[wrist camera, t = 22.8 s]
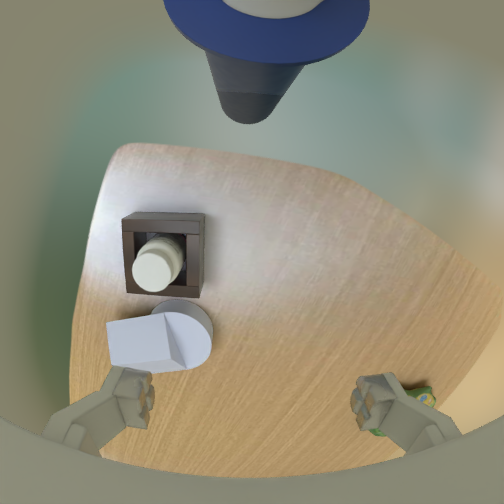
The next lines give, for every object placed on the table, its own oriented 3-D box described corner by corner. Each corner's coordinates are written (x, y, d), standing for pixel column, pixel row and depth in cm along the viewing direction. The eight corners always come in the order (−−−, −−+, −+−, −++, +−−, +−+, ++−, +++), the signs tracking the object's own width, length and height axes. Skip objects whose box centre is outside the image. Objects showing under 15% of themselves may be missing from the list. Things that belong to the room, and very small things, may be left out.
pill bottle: (176, 273, 35) (159, 305, 27) (145, 251, 34) (120, 278, 26) (197, 243, 34) (184, 268, 26) (164, 220, 33) (141, 239, 25)
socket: (135, 211, 33) (121, 218, 28) (204, 213, 33) (199, 221, 29) (138, 278, 35) (126, 293, 31) (203, 282, 36) (199, 298, 31)
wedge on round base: (138, 361, 39) (220, 349, 39) (126, 390, 33) (218, 381, 32) (114, 310, 36) (202, 293, 36) (96, 336, 30) (195, 320, 30)
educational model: (414, 417, 48) (424, 434, 43) (352, 429, 47) (360, 448, 42) (439, 374, 44) (452, 391, 39) (374, 384, 43) (386, 404, 38)
